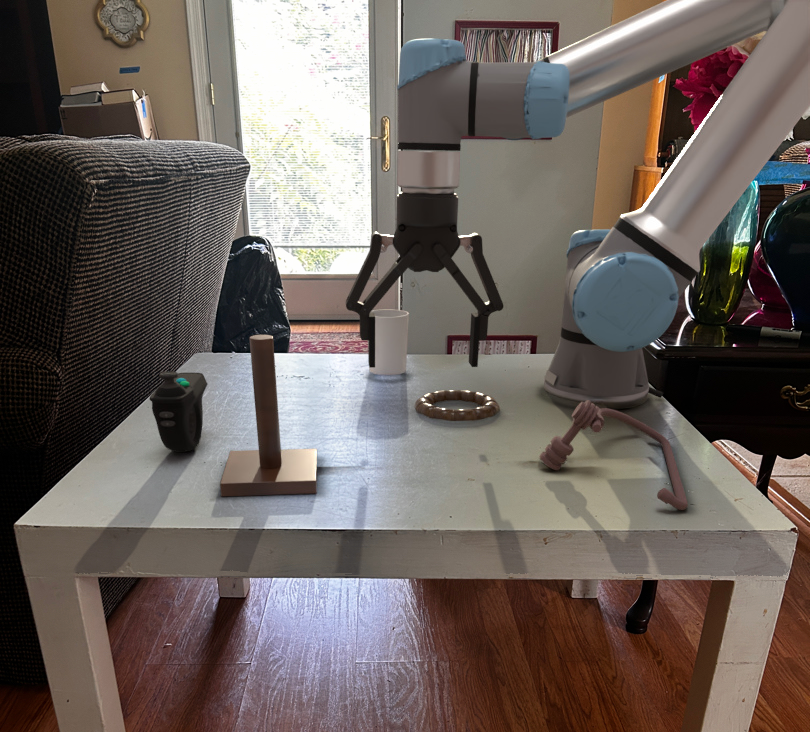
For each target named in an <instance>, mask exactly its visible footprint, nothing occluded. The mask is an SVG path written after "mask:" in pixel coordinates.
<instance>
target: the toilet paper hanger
mask: <svg viewBox="0 0 810 732" xmlns="http://www.w3.org/2000/svg"><path fill="white" fill-rule="evenodd" d="M604 417H607V418H611V419H615V420H618V421H619V422H623V423H624V424H627V425H629V426H630V427H633V428H635V429H636V430H638V431H640V432H642V433H643V434H644V435H647V436H648V437H649V438H652V439H653V440H654V441H656V442H657V443H659V444H660V445H661V447H662V450H663V451H662V452H663V454H664V458H665V462H666V467H667V470H668V474H669V477H670V481H671V484H672V485H671V486H672V488H673V492H672V491H671V490H669V489H667V488H666V487H662V488H660V489H659V490H658V492H657V495H656V497H657V499H659V500H660V501H661V502H663V503H664V504H666V505H667V504H669V505H670V506H672V507H673V508H675V509H677V510H679V511H685V510H686V509H687V508H688V507H689V504H688V499H687V497H686V492H685V489H684V486H683V482H682V479H681V475H680V473H679V469H678V465H677V462H676V459H675V457H674V456H675V455H674V452H673V449H672V445H671V443H670V441H669V439H668V438H667V437H665V435H663V434H661V433H660V432H659V431H656V429H653V428H652V427H650V425H649V426H648V425H647V424H645V423H644V422H642V421H640V420H639V419H637V418H634V417H632V416H630V415H629V414H626V413H624V412H622V411H619V410H617V409H608V408H607V407H599V406H597V405H596V403H591V402H590V401H589V400H587V401H586V402H580V403H578V404H577V406H576V407H575V409H574V410H573V412H572V414H571V418H572V421H571V423H572V424H571V426H570V427H569V428H568V430H567V431H566V432H565V433H564V435H563V436H558V435H555V436H553V438H552V439H551V440H550V443H549V444H547V445H546V446H545V448H544V451H542V452H541V453H540V454H539V459H540V461H541V462H542V463H543V464H545V466H546V467H548V468H550V469H552V470H554V471H559V470H560V469H561V467H562V466H563V464H564V463H565V462H566V461H567V460H568V457H569V456H571V455H572V454H573V452H574V447H573V445H572V444H571V443H572V442H573V440H574V438H576V436H577V435H578V434H579V432H580V431H581V430H583V431H585V430H586V429H587V428H588V427H589V428H590V429H591V430H592V432H594V433H595V434H597V433H600V432H601V431H602V429H603V428H604V426H605V420H604Z"/></svg>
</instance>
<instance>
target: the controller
mask: <svg viewBox="0 0 810 732" xmlns="http://www.w3.org/2000/svg"><path fill="white" fill-rule="evenodd" d="M158 375H159V376H158V377H159V378H160V379H162V380H164V381H163V382H162V383H161V384H160V385H159V386H158V387H157V388H156V389H155V390H154V391H153V392H152V393H151V395H150V396H149V401H150V402H151V410H152V415H153V416H154V417H153V418H154V420H155V422H156V423H155V424H156V426H157V432H158V434H159V438H160V441H161V442H162V444H163V445H164V448H166V449H167V450H170V451H172V452H190V451H193V450H194V449H196V448H197V447H198V445H199V443H200V442H201V437H202V431H203V422H204V421H203V419H204V418H203V417H204V414H203V413H204V410H203V395H204V392H205V391H206V388H207V386H208V382H207V379H206V378H205V375H204V373H201V372H177V371H173V370H167V371H162V372H160V373H159V374H158Z"/></svg>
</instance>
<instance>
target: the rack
mask: <svg viewBox="0 0 810 732" xmlns="http://www.w3.org/2000/svg"><path fill="white" fill-rule="evenodd" d="M248 339H249V350H250V360H251V361H250V363H251V374H252V385H253V399H254V409H255V411H254V412H255V421H256V423H255V424H256V433H257V445H258V449H253V450H252V449H250V450H230V451H229V454H228V455H227V456H228V457H227V460H226V463H225V466H224V470H223V472H222V475H221V480H220V483H219V487H220V488H219V489H220V496H221V497H244V496H245V497H247V496H248V497H249V496H279V495H280V496H281V495H312V494H313V495H315V494H317V492H318V465H317V464H318V449H317V448H290V449H289V448H288V449H283V448H282V446H281V432H280V431H281V430H280V418H279V417H280V415H279V402H278V388H277V386H278V385H277V373H276V359H275V358H276V357H275V346H274V345H275V344H274V336H273V335H270V334H254V335H251V336H249V338H248Z"/></svg>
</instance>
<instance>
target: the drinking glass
mask: <svg viewBox="0 0 810 732" xmlns="http://www.w3.org/2000/svg"><path fill="white" fill-rule="evenodd" d="M370 313H374V314H375V367H372V368H369V367H368V368H369V369H368V370H369V372H370V373H371V374H374V375H378V376H379V375H380V376H396V375H401V374H404V373H406V372H407V357H408V341H409V340H408V338H409V336H408V335H409V319H410V318H409V317H410V313H409V312H408V311H406V310H400V309H392V308H391V309H389V308H388V309H373V310H372V311H371V312H370Z"/></svg>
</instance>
